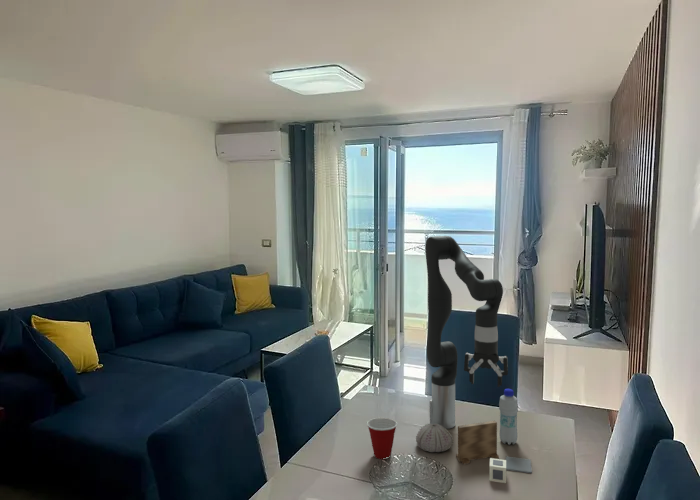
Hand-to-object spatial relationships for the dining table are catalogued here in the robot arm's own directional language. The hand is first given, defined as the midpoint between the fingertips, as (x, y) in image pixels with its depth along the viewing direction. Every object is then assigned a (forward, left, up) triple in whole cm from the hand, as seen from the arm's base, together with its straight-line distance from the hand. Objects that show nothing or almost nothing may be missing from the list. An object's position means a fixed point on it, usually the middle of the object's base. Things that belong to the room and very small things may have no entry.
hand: (485, 384), depth 162 cm
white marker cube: (+8, -9, -26) cm, 29 cm away
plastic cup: (-30, -18, -26) cm, 44 cm away
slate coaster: (+11, +2, -26) cm, 28 cm away
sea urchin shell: (-18, -2, -26) cm, 32 cm away
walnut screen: (-2, -1, -26) cm, 26 cm away
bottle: (+3, +16, -26) cm, 31 cm away
